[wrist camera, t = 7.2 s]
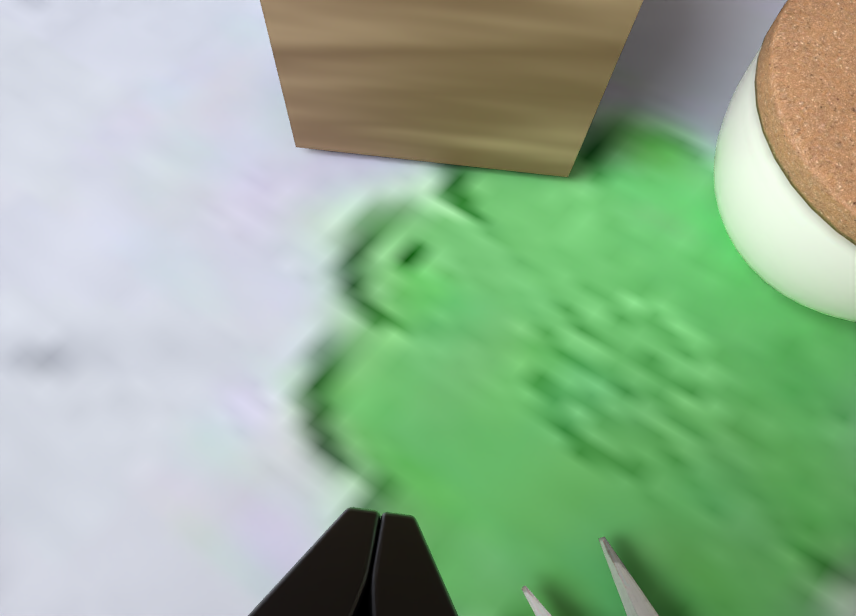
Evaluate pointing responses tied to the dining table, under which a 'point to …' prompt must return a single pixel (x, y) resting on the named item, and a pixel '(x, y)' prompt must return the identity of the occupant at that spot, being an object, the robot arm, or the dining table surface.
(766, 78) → the lidded jar
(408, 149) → the wooden slab
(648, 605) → the pliers
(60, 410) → the dining table surface
